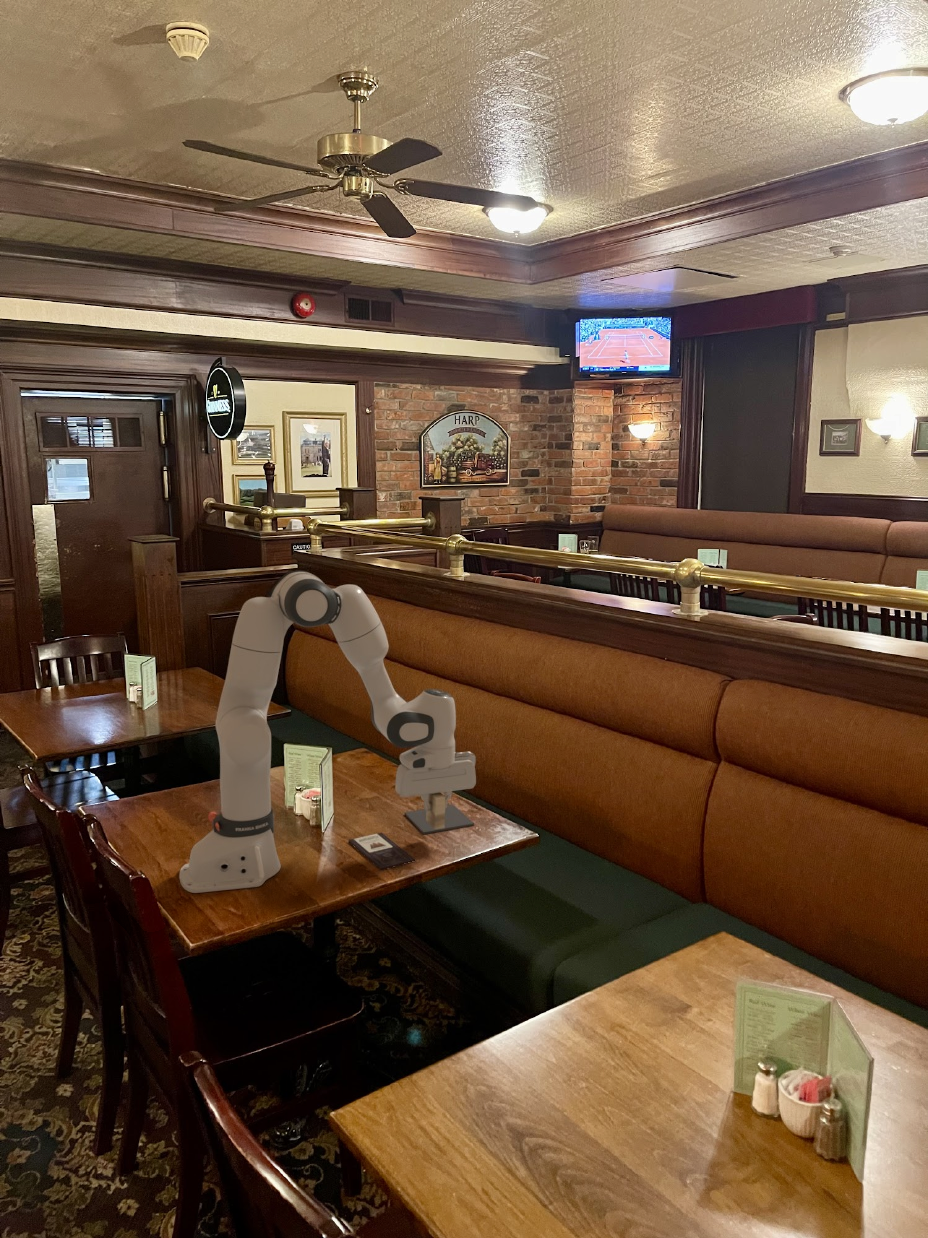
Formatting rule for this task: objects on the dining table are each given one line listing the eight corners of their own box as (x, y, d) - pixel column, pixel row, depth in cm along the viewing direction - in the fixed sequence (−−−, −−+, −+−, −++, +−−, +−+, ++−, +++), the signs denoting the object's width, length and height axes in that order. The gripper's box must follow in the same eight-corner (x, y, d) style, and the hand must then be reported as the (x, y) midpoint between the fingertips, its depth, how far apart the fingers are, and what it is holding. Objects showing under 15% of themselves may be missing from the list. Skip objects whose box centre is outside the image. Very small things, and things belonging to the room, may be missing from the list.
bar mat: (423, 834, 231) (423, 832, 230) (404, 814, 243) (404, 812, 243) (474, 825, 236) (474, 823, 236) (453, 806, 249) (453, 804, 249)
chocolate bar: (381, 868, 211) (348, 840, 226) (381, 872, 211) (348, 843, 226) (415, 859, 215) (381, 832, 231) (415, 863, 216) (381, 836, 231)
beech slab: (444, 828, 224) (445, 796, 222) (435, 829, 223) (435, 798, 221) (435, 819, 229) (436, 788, 228) (426, 820, 228) (426, 789, 227)
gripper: (470, 746, 230) (468, 799, 232) (393, 755, 221) (392, 809, 224) (481, 754, 224) (479, 808, 226) (402, 763, 216) (401, 819, 218)
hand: (435, 808), depth 225 cm, fingers closed on beech slab, 2 cm apart
